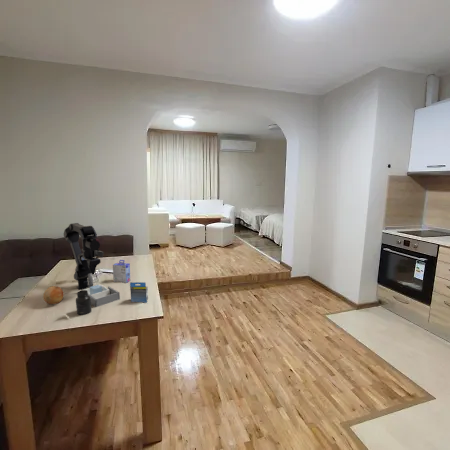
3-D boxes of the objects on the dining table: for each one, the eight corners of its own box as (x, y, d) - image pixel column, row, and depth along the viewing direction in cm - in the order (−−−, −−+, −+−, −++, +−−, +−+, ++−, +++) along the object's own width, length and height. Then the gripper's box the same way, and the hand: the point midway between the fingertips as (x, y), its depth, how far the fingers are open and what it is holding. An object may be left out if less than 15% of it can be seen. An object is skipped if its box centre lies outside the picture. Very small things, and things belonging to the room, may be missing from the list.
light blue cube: (90, 295, 165) (89, 287, 164) (98, 292, 168) (98, 284, 167) (93, 297, 161) (93, 289, 161) (102, 294, 165) (101, 286, 164)
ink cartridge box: (131, 280, 190) (129, 259, 188) (126, 283, 185) (125, 262, 182) (117, 279, 192) (116, 259, 190) (113, 282, 187) (111, 261, 184)
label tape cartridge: (148, 300, 161) (147, 279, 159) (146, 303, 157) (145, 282, 155) (132, 300, 161) (131, 279, 158) (130, 303, 157) (129, 282, 155)
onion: (40, 308, 150) (38, 290, 148) (48, 300, 160) (46, 283, 158) (60, 306, 152) (58, 289, 150) (67, 299, 161) (65, 282, 160)
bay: (86, 301, 158) (85, 293, 158) (109, 294, 168) (109, 286, 167) (95, 308, 150) (95, 300, 149) (119, 300, 160) (119, 292, 159)
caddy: (80, 294, 167) (79, 275, 165) (99, 289, 175) (98, 271, 173) (90, 301, 157) (89, 282, 155) (110, 295, 165) (108, 277, 163)
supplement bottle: (80, 310, 148) (78, 289, 146) (93, 310, 148) (92, 288, 146) (74, 317, 141) (72, 294, 139) (88, 316, 142) (86, 294, 140)
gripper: (108, 247, 164) (110, 272, 167) (95, 242, 177) (97, 265, 180) (88, 251, 156) (91, 277, 159) (76, 245, 169) (78, 270, 172)
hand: (90, 272), depth 168 cm, fingers open, 9 cm apart
